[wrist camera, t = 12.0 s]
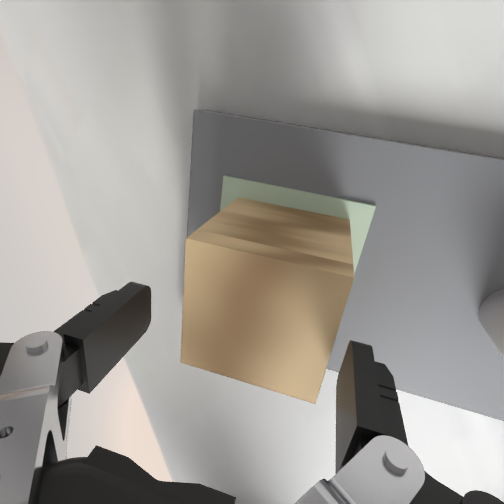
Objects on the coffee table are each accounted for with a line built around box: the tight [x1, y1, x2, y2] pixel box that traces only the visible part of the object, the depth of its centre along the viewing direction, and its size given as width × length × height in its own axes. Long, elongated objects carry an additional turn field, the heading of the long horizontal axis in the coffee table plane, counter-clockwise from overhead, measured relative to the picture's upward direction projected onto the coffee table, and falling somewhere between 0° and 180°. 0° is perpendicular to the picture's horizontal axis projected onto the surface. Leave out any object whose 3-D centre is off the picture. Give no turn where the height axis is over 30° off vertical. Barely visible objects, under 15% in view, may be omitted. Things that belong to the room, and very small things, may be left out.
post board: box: [187, 110, 504, 421], centre depth 15 cm, size 14×24×8 cm, turn 82°
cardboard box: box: [181, 197, 354, 404], centre depth 15 cm, size 6×6×6 cm
